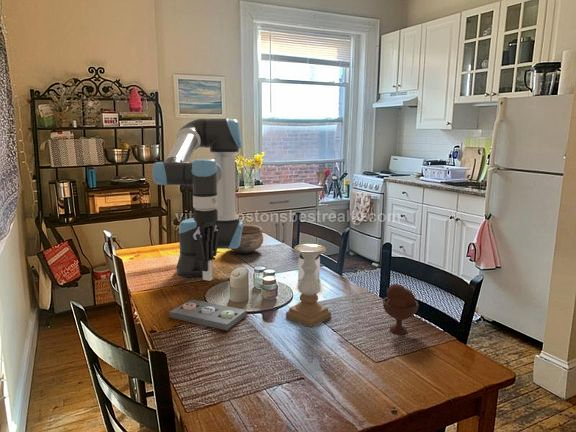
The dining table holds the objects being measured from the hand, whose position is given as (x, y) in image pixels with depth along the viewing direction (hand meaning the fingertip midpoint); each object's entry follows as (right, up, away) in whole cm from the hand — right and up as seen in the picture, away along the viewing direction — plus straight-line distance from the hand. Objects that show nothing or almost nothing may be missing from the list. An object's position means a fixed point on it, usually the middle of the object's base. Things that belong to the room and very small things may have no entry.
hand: (207, 279), depth 145 cm
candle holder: (+33, -13, +3) cm, 36 cm away
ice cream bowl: (+61, -15, -7) cm, 63 cm away
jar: (+35, -6, +40) cm, 53 cm away
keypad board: (0, -13, +2) cm, 13 cm away
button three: (0, -13, +2) cm, 14 cm away
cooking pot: (+4, +2, +78) cm, 78 cm away
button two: (-7, -13, +5) cm, 16 cm away
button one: (+7, -14, -1) cm, 16 cm away
